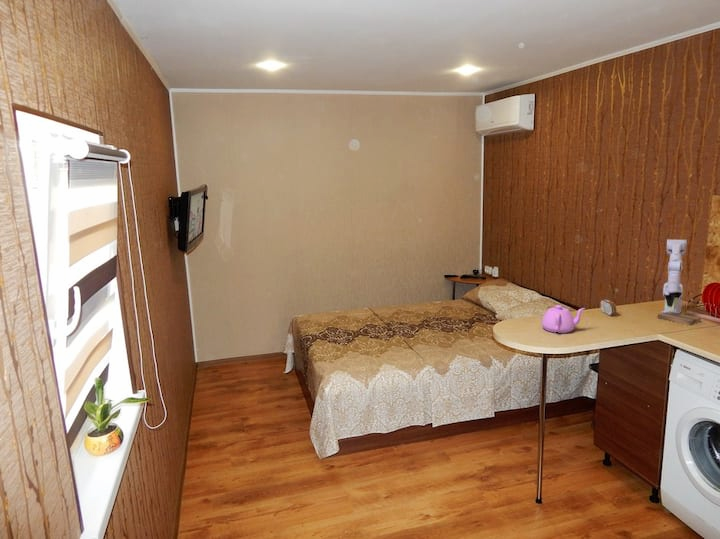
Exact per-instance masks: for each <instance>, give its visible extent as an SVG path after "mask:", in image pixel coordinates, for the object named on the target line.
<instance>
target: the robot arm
mask: <svg viewBox="0 0 720 539" xmlns="http://www.w3.org/2000/svg"><path fill="white" fill-rule="evenodd" d="M687 242H688V241H687V239H669V238H667V240H666V254H668V255H669V260H668V263H667V264H668V266H667V274H668V276H667V282H665V283H664V284H663V289H662V290H663V291H662V297H664V302H665V301H667V306H671V307H672V305H673V301H674V298H675V297H677V298H678V308H676V309H669V308H665V307H664V310H662V311H660V312H661V313H665V312H669V311H670V312H675V313H679V314H681V313H680V311H682V303H683V300H682V298H683V295H684V285H683V284H682V283H681V274H682V273H681V272H682V271H683V260H682V259H683V258H682V257H683V255H685V253H686V250H687V244H688V243H687Z"/></svg>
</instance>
